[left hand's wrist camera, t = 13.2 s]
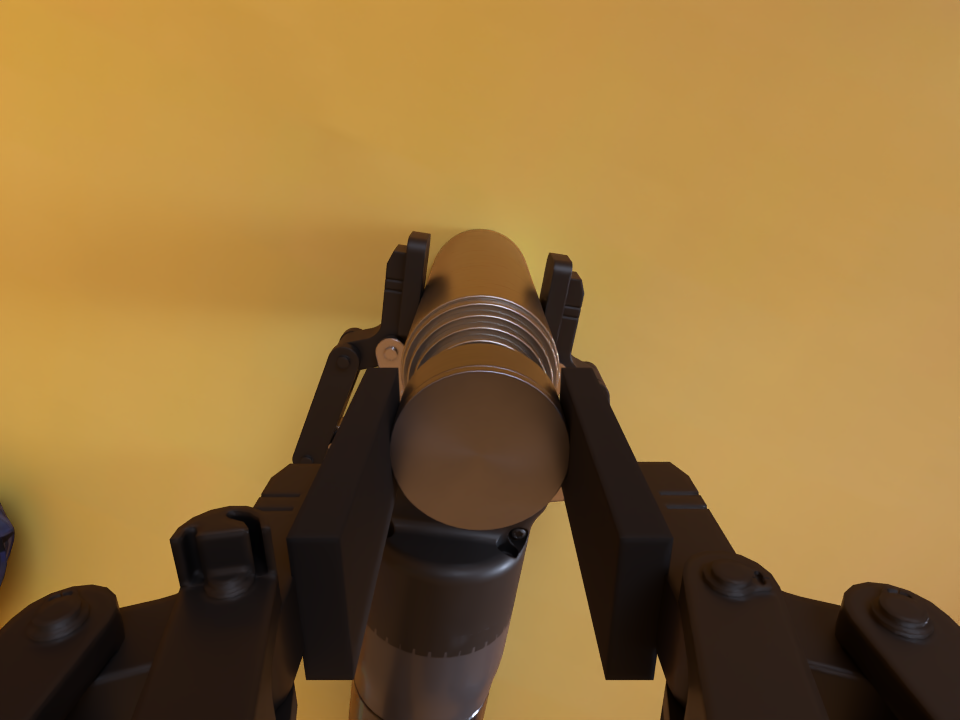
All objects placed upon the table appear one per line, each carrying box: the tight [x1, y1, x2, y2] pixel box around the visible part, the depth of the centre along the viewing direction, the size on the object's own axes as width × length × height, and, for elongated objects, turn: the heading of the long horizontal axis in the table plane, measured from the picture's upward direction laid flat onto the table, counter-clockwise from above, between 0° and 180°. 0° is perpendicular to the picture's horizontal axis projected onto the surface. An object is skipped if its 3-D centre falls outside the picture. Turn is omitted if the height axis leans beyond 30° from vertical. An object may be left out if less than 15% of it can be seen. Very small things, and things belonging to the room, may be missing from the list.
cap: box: [390, 343, 570, 530], centre depth 14 cm, size 4×4×2 cm
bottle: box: [401, 229, 559, 389], centre depth 21 cm, size 5×5×17 cm
